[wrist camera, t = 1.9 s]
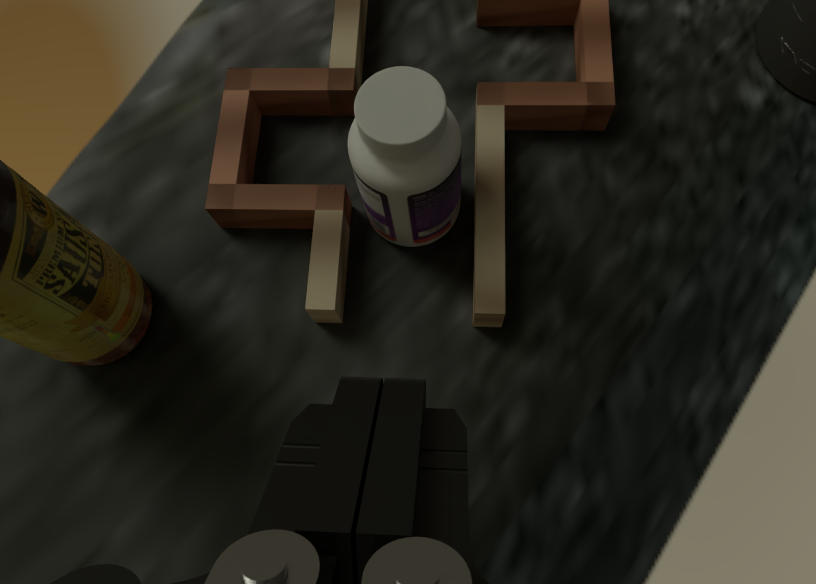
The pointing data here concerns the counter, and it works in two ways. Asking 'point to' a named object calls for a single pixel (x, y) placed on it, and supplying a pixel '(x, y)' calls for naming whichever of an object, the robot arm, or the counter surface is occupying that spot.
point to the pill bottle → (406, 156)
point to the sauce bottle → (64, 282)
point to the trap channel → (335, 95)
